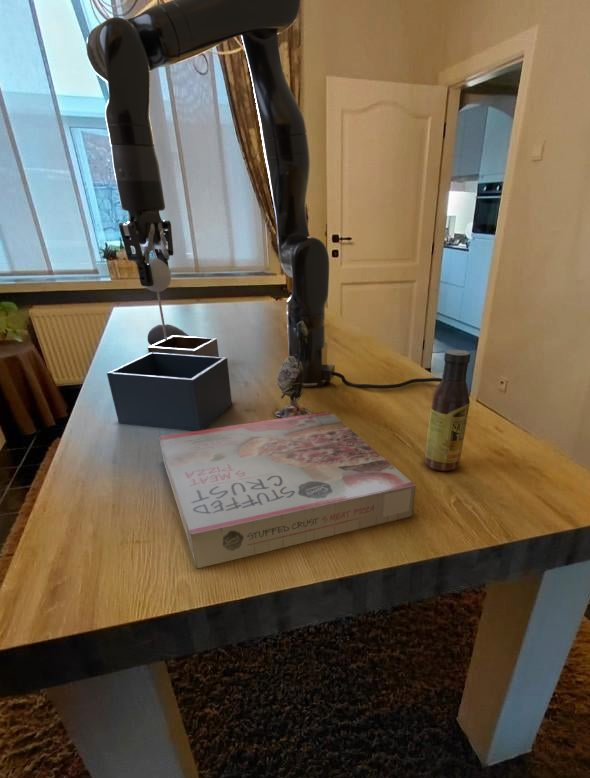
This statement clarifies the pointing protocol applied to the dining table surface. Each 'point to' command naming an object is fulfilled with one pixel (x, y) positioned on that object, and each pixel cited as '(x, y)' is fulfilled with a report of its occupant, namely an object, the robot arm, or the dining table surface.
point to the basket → (187, 346)
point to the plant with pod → (293, 379)
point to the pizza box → (279, 485)
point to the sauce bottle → (448, 414)
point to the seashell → (158, 333)
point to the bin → (171, 390)
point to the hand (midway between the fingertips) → (156, 283)
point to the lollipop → (159, 282)
